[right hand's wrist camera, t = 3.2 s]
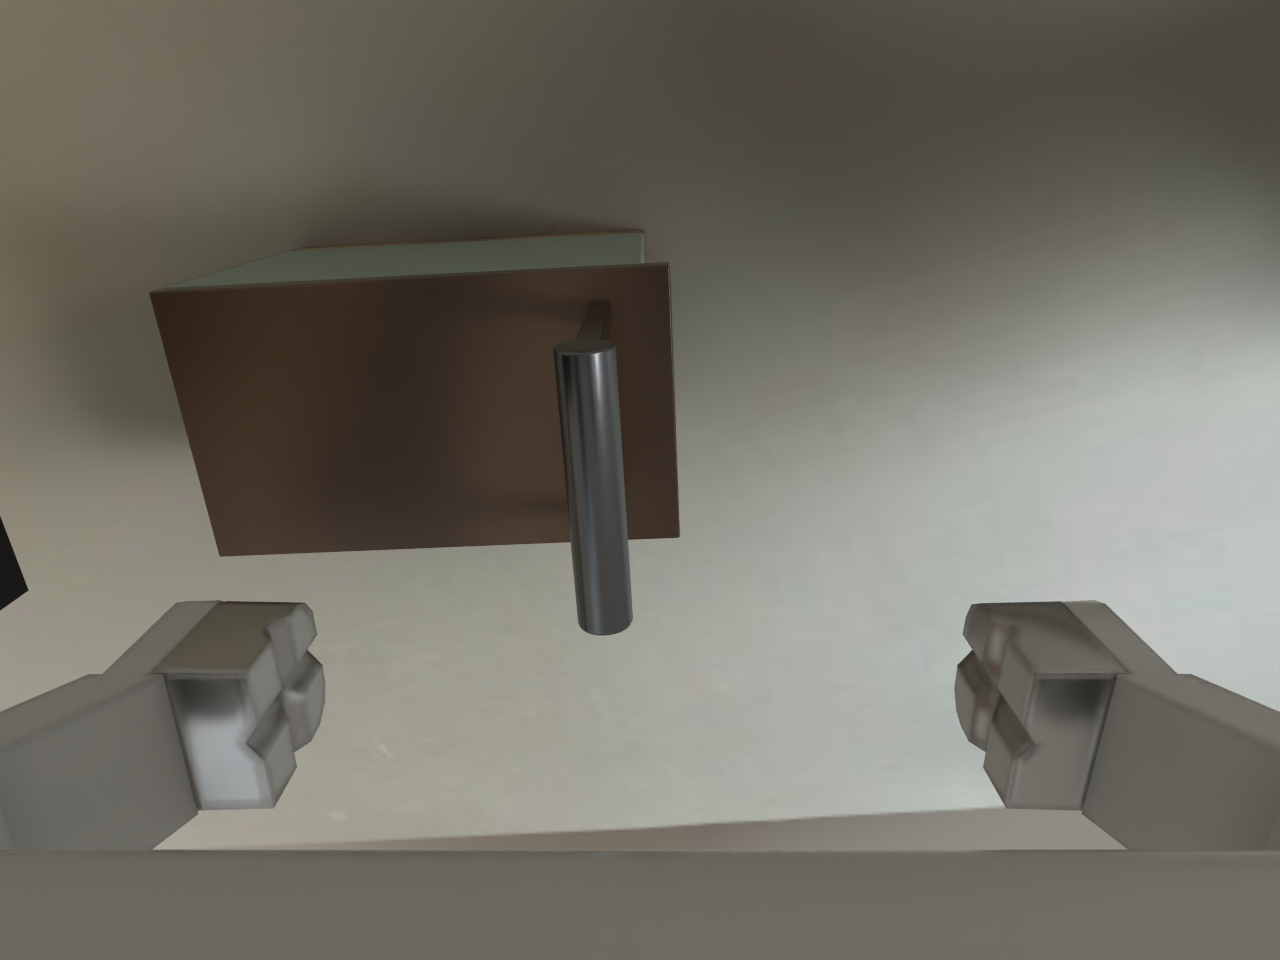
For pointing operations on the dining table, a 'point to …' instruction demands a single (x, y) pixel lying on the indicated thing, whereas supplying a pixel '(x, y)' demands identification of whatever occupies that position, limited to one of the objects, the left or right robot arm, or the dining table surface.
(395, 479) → the lid
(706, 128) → the dining table surface
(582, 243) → the chest
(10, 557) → the left robot arm
